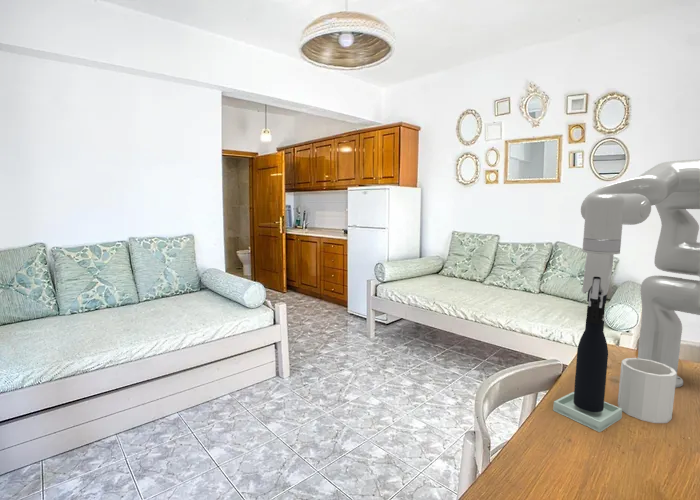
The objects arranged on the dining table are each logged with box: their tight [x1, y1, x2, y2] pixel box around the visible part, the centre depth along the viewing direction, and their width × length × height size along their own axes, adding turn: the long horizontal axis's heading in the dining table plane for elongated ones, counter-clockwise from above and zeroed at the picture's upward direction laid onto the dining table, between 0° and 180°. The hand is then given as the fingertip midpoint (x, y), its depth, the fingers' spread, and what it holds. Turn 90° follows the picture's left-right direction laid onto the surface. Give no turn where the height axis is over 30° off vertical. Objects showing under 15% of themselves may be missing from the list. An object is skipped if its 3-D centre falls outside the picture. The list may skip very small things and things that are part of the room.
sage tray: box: [552, 391, 623, 433], centre depth 95 cm, size 11×11×2 cm
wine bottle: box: [573, 289, 609, 412], centre depth 93 cm, size 6×6×30 cm
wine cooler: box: [617, 357, 678, 424], centre depth 96 cm, size 11×11×12 cm
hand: (595, 319), depth 92 cm, fingers closed on wine bottle, 3 cm apart
